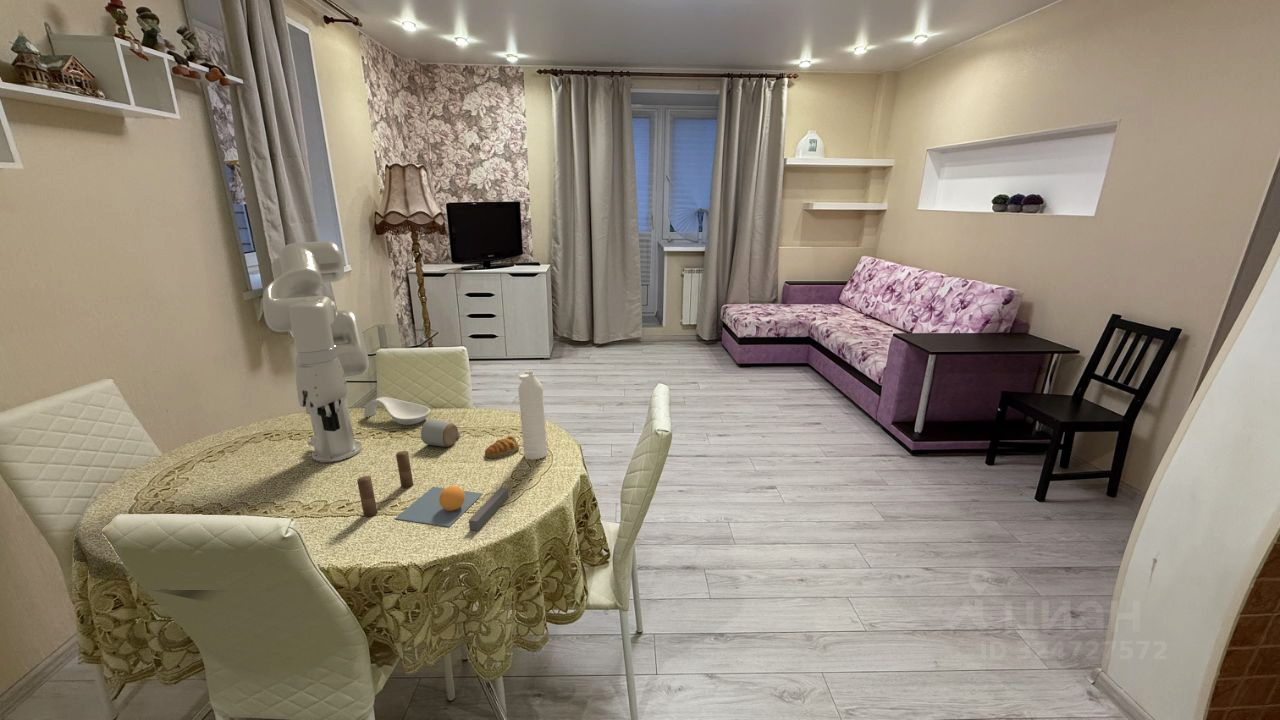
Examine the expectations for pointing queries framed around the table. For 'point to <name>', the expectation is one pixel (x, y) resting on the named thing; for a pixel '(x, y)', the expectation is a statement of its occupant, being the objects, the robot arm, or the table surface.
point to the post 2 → (404, 469)
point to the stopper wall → (488, 509)
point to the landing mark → (436, 509)
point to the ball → (452, 498)
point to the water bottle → (532, 416)
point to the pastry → (502, 447)
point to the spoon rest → (399, 410)
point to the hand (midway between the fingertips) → (332, 429)
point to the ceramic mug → (439, 433)
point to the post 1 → (367, 496)
